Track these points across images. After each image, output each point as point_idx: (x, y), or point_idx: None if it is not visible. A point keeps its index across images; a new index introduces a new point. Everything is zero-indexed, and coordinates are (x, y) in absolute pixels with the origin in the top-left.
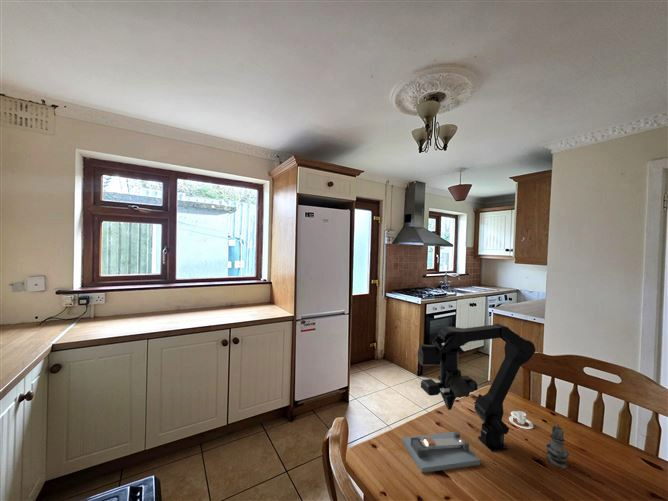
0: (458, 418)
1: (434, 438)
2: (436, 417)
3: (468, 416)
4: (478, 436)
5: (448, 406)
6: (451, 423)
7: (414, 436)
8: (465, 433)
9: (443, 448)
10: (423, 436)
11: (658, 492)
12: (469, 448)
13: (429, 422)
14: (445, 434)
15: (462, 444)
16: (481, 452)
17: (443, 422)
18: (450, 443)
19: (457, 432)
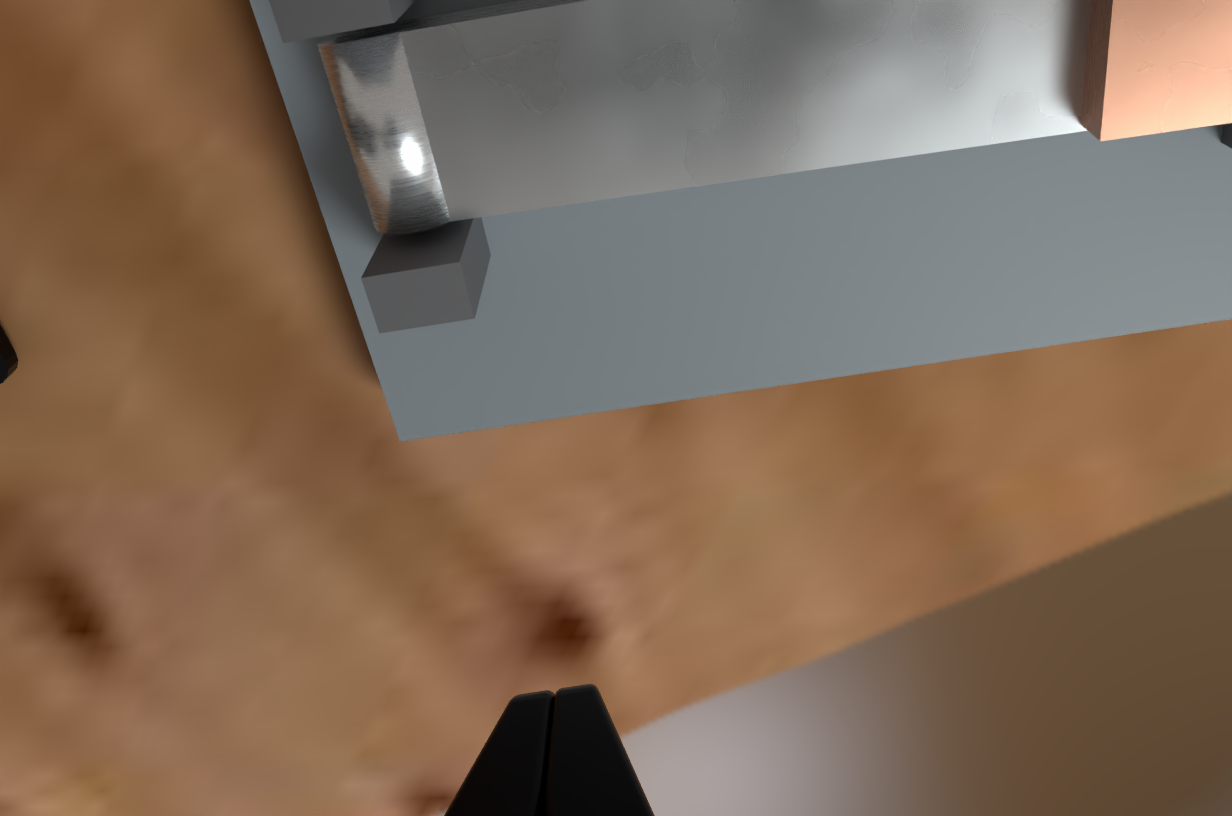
0: (214, 721)
1: (842, 281)
2: None
3: (53, 756)
4: (3, 379)
5: (631, 786)
6: (355, 636)
7: (1184, 322)
8: (205, 458)
9: None
10: (1018, 325)
11: None
12: (266, 33)
13: (684, 645)
14: (587, 380)
15: (404, 29)
16: (55, 36)
17: (470, 650)
18: (674, 35)
19: (399, 320)
